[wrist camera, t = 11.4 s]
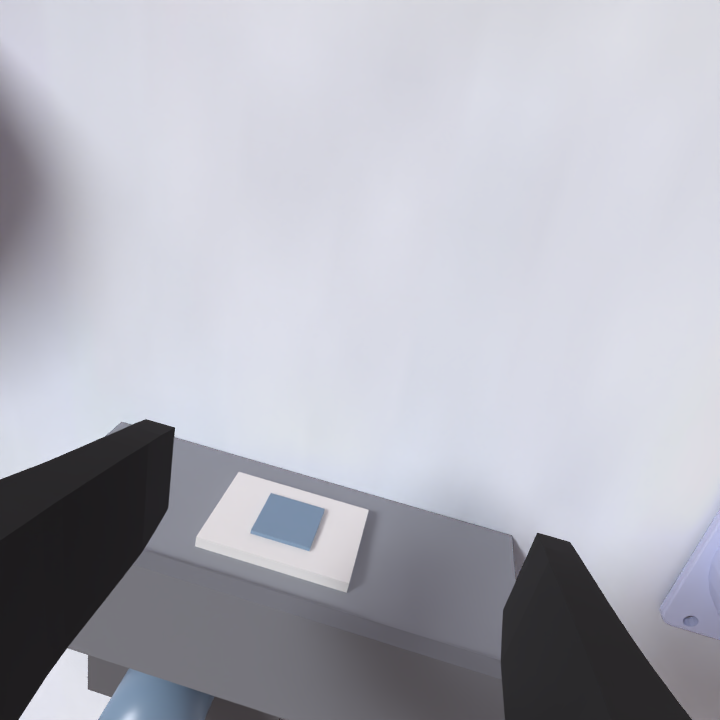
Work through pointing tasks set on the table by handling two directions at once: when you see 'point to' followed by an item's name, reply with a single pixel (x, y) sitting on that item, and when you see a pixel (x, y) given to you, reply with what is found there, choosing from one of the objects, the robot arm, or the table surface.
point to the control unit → (310, 598)
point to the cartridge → (155, 700)
